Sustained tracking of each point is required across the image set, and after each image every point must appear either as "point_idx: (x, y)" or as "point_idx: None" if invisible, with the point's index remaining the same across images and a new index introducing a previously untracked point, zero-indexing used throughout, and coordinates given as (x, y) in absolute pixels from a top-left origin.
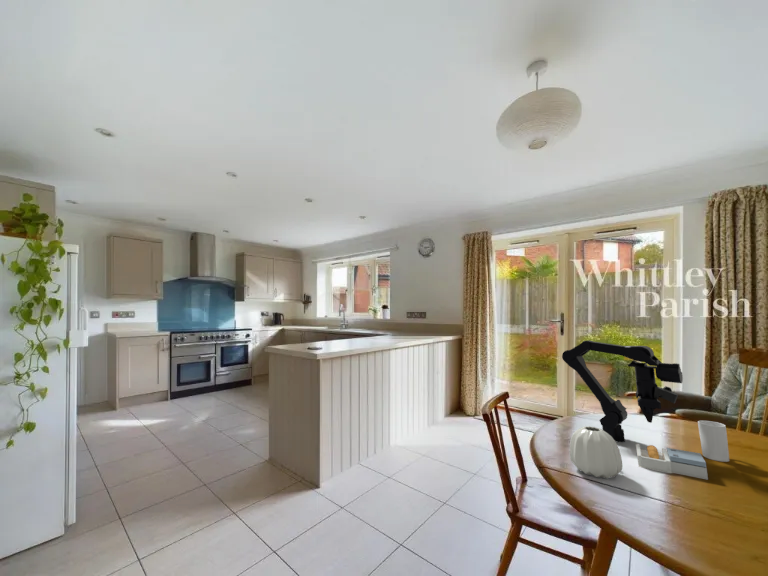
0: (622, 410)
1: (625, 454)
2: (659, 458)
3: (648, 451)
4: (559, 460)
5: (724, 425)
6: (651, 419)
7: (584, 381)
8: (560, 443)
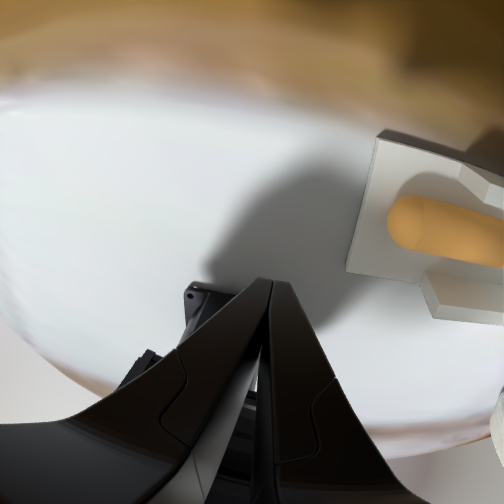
0: (229, 484)
1: (413, 315)
2: (469, 201)
3: (480, 264)
4: (467, 428)
5: None
6: (302, 316)
7: None
8: None
